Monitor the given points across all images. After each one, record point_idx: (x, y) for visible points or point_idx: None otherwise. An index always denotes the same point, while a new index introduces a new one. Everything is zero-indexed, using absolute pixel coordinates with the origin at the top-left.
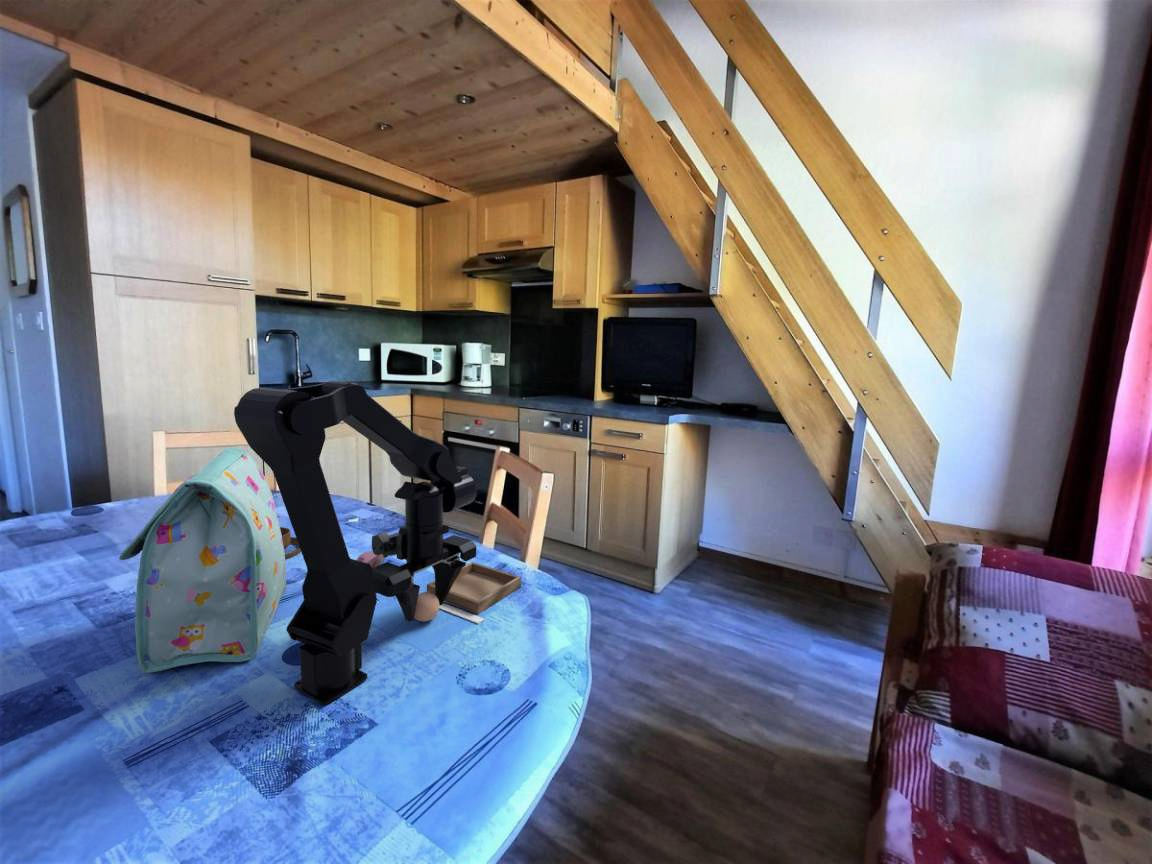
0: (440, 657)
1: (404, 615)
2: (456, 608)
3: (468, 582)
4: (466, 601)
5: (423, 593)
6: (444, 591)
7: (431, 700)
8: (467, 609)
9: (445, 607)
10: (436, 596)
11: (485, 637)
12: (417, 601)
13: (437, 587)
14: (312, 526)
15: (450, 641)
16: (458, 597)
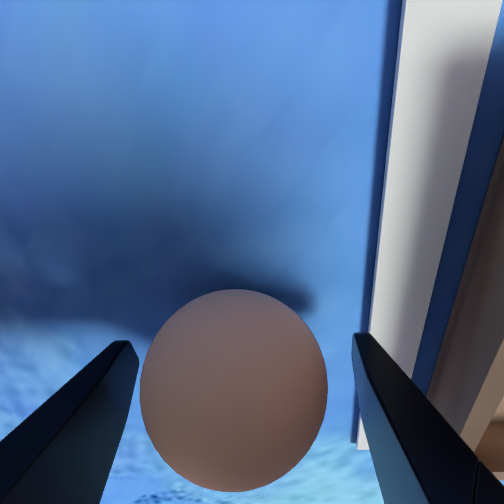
0: (150, 456)
1: (90, 364)
2: (413, 356)
3: None
4: (451, 424)
5: (214, 477)
6: (379, 477)
7: None
8: (432, 387)
9: (394, 317)
10: (364, 376)
11: (305, 477)
12: (154, 446)
13: (393, 452)
14: None
15: None
16: (467, 397)
